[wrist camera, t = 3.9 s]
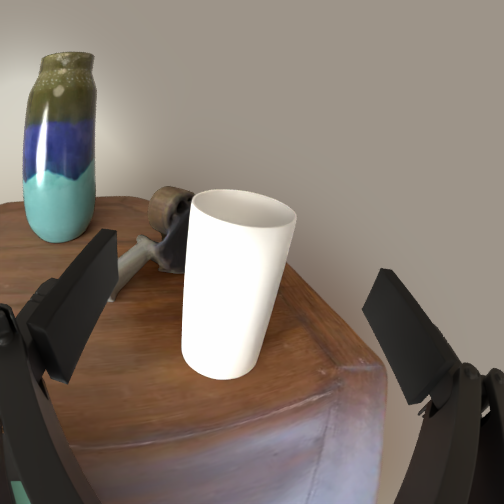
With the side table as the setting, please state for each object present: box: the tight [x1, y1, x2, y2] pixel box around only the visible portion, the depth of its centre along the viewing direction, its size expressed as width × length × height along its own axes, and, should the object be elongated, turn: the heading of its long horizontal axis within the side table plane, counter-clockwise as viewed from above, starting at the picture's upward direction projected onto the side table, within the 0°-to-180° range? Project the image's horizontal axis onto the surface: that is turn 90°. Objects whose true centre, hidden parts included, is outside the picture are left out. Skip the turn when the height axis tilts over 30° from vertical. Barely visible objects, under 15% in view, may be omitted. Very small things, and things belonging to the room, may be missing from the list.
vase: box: [23, 52, 97, 243], centre depth 36 cm, size 14×14×31 cm
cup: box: [182, 189, 297, 379], centre depth 26 cm, size 8×8×16 cm
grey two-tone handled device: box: [108, 186, 196, 302], centre depth 36 cm, size 21×6×12 cm, turn 147°
